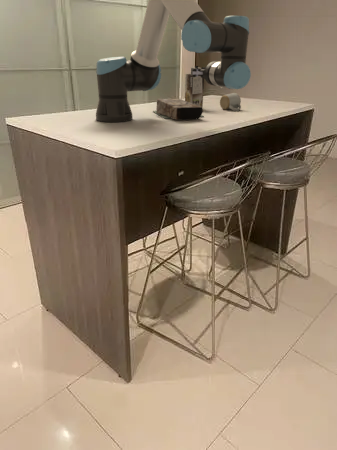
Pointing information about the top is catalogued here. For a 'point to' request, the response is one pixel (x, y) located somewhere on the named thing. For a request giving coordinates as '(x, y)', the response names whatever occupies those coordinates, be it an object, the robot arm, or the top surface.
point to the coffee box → (194, 90)
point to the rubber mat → (166, 116)
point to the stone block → (178, 109)
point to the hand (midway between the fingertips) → (192, 70)
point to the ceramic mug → (230, 102)
